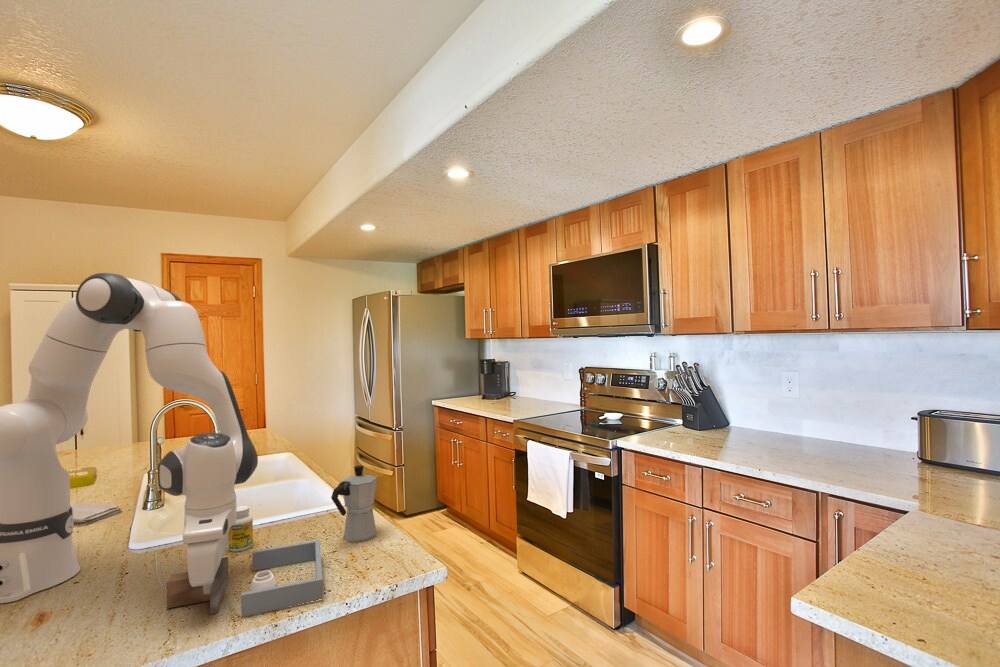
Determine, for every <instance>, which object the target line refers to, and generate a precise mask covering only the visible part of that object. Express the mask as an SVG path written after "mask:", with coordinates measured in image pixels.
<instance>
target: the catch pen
mask: <svg viewBox="0 0 1000 667" xmlns="http://www.w3.org/2000/svg"><path fill="white" fill-rule="evenodd" d="M321 554H322V550H321V540H320V539H317V540H311V541H306V542H304V541H303V542H300V543H294V544H293V543H292V544H288V545H280V546H276V547H269V548H263V549H257V550H252V552H251V556H252V557H251V558H252V560H251V561H252V563H251V564H252V566H251V567H252V568H251V569H252V572H256V571H261V570H262V571H263V570H267V569H271V568H277V567H283V566H288V565H293V564H299V563H300V564H301V563H304V562H305V561H306V562H310V561H315V578H311V579H304V580H301V581H296V582H291V583H290V582H289V583H285V584H279V585H276V586H274V587H269V588H264V589H259V590H254V591H250V590H248V591H244V592H241V594H240V617H241V618H245V617H249V615H250V616H254V615H258V614H259V613H260V614H263V612H264V613H269V612H274V611H278V610H282V609H281V608H283V609H287V608H286V607H288V608H290V607H289V606H293V607H296V606H295V605H297V606H299V605H298V604H302V603H306V602H311V601H316V600H319V599H323V596H324V595H323V594H324V593H323V592H324V591H323V569H322V567H323V566H322V555H321ZM316 602H317V601H316ZM311 603H312V602H311ZM302 605H303V604H302ZM273 610H274V611H273ZM268 611H269V612H268ZM260 614H259V615H260Z"/></svg>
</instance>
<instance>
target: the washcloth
mask: <svg viewBox="0 0 1000 667" xmlns="http://www.w3.org/2000/svg"><path fill="white" fill-rule="evenodd" d="M70 507H72V511H73V519H74V524H73V527H74V526H76V527H85V526H86V525H87V526H88V525H91V524H95V523H98V522H100V521H103V520H105V519H108V518H110V517H111V518H112V517H113V516H116V515H119V514H120V513H122V512H123V510H122V508H121V507H120V505H119V504H117V505H116V504H110V502H94V501H93V502H90V501H89V502H86V501H85V502H84V501H83V502H77V503H74V504H70Z"/></svg>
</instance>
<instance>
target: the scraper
mask: <svg viewBox="0 0 1000 667" xmlns="http://www.w3.org/2000/svg"><path fill="white" fill-rule="evenodd" d="M229 560H230V559H229V556H225V557H222V560H221V562H220V566H219V568H218V570H217V573H216V576H215V579H214V581H213V583H212V586H211V589H210V594H206V595H205V594H204V593H203V585H202V586H196V587H192V586H191V584H190V582H189V576H188V571H185V572H179V573H173V574H170V575H169V577H168V579H167V580H166V609H171V608H176V607H180V606H181V607H183V606H187V605H191V604H192V605H193V604H196V603H203V602H207V601H209V614H210V615H213V614H217V613H218V612H219V610H220V606H221V604H222V600H223V597H224V593H225V591H226V587H227V584H228V581H229V578H230V577H229V569H230V568H229Z"/></svg>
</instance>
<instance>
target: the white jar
mask: <svg viewBox="0 0 1000 667" xmlns="http://www.w3.org/2000/svg"><path fill="white" fill-rule="evenodd" d="M274 586H278V580H277V578H276V577H275V575H274V574H273V573H272V571H271V570H262V571H261V570H260V571H259V572H257V573H256V574H255V575H254V578H253V579H252V582H251V583H250V585H249V591H254V590H259V589H264V588H269V587H274Z"/></svg>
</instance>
